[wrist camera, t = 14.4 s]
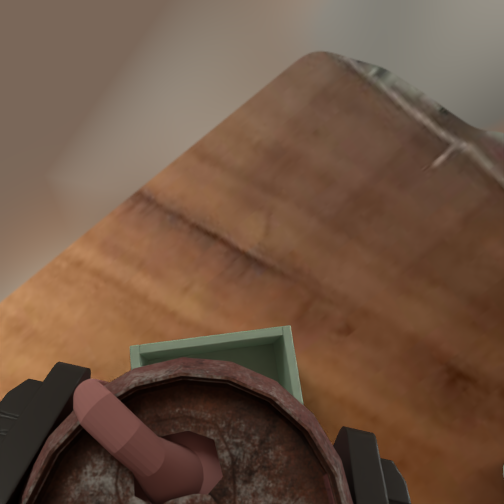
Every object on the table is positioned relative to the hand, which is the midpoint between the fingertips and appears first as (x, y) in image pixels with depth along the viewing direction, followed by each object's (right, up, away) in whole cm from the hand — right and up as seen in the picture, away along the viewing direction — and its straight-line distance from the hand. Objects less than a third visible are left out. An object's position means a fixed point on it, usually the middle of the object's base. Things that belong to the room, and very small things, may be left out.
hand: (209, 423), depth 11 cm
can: (-1, -5, +9) cm, 11 cm away
